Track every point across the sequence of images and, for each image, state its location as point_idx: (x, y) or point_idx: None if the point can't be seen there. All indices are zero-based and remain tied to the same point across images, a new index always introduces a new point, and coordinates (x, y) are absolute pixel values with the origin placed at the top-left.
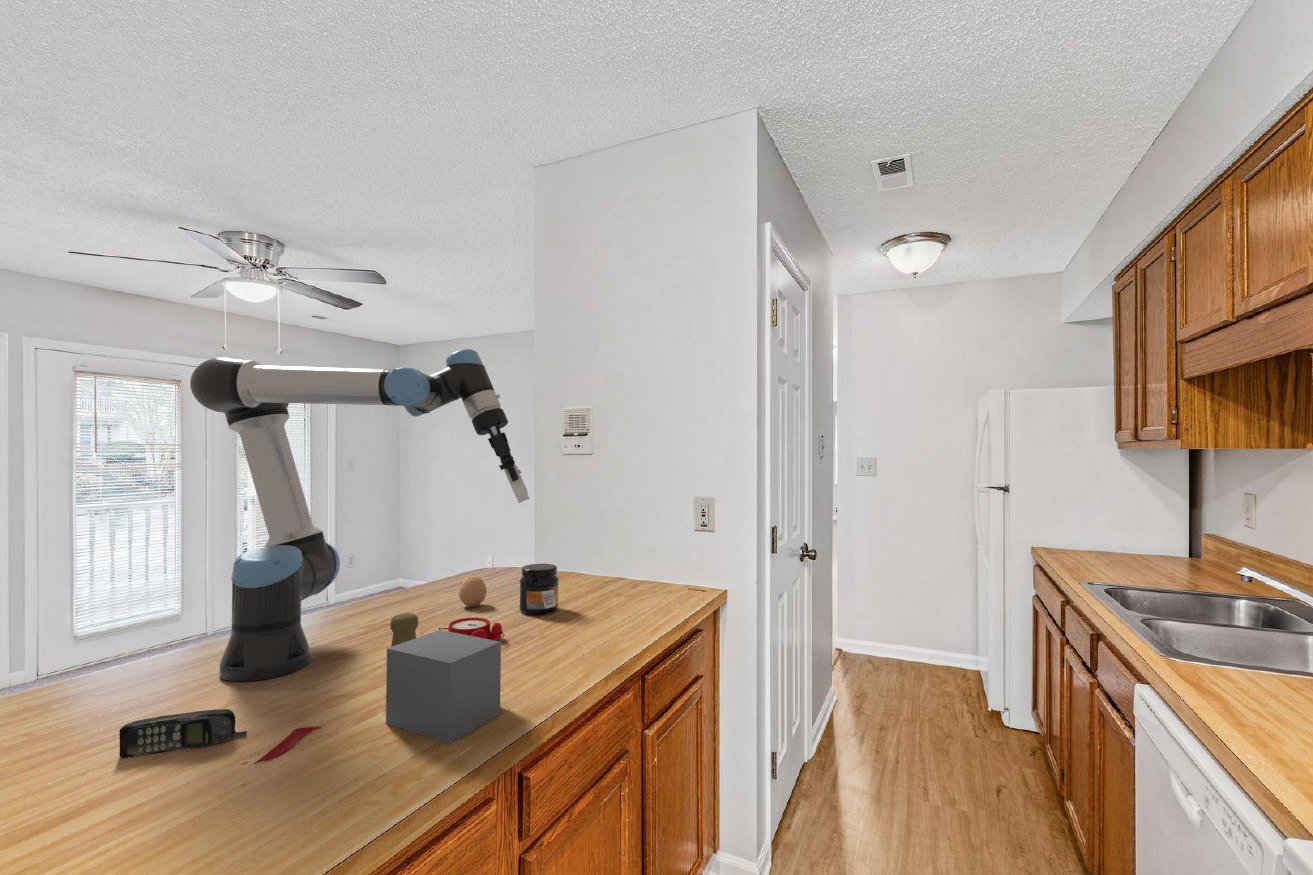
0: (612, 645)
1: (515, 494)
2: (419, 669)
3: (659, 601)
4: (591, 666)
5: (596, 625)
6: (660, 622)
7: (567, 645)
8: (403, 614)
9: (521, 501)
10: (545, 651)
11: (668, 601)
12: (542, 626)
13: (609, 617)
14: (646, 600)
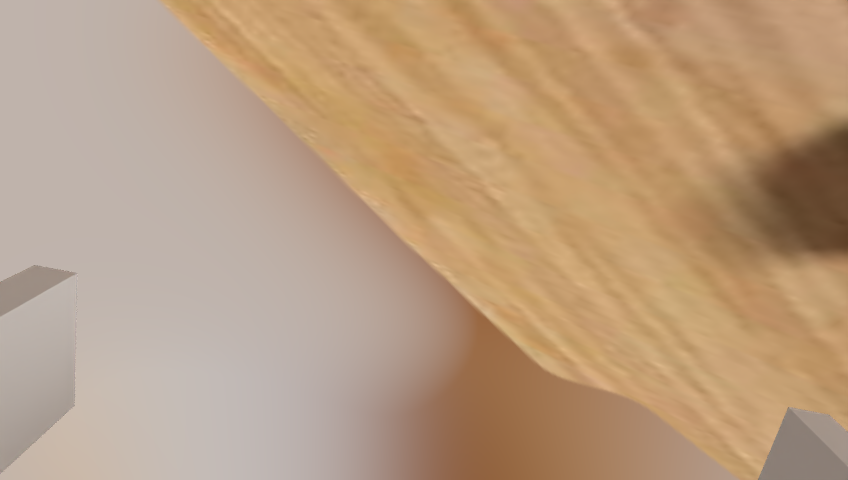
0: (461, 208)
1: (10, 285)
2: None
3: None
4: (330, 108)
5: (659, 244)
6: (587, 371)
7: (511, 106)
8: None
9: (777, 442)
10: (484, 29)
11: None
12: (769, 92)
13: (718, 304)
14: None
